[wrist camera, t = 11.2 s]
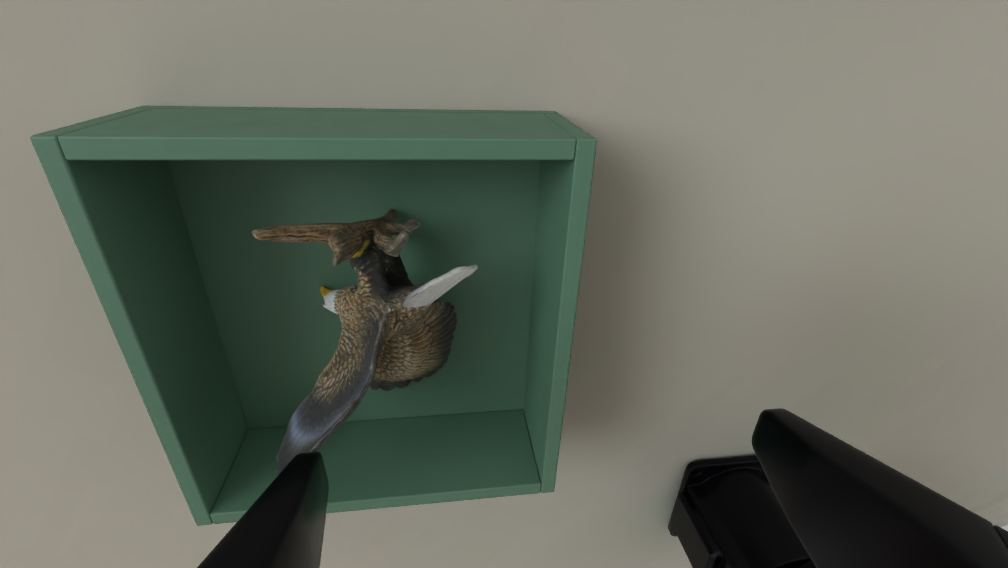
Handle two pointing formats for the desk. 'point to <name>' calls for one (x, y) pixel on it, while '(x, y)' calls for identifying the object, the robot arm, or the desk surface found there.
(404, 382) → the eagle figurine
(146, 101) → the desk surface
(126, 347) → the bin
